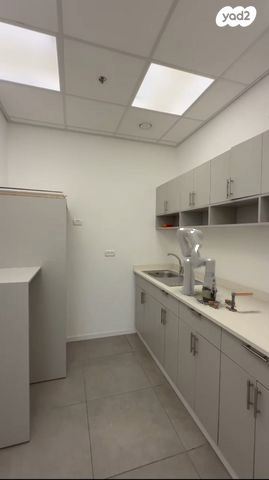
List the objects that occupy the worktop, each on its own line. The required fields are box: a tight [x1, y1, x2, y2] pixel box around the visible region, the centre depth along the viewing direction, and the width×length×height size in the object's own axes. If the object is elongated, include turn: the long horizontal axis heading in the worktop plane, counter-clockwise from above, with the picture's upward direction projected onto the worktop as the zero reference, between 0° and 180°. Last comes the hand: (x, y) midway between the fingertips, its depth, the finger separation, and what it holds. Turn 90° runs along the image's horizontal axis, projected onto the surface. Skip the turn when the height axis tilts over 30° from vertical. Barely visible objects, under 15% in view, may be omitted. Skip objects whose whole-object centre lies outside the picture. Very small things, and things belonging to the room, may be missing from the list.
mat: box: [196, 299, 221, 306], centre depth 181 cm, size 10×15×1 cm, turn 113°
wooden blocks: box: [207, 296, 238, 312], centre depth 169 cm, size 16×19×10 cm
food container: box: [201, 286, 219, 302], centre depth 181 cm, size 12×6×10 cm, turn 81°
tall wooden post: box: [230, 291, 254, 297], centre depth 164 cm, size 16×3×2 cm, turn 100°
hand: (208, 296), depth 181 cm, fingers closed on food container, 7 cm apart
